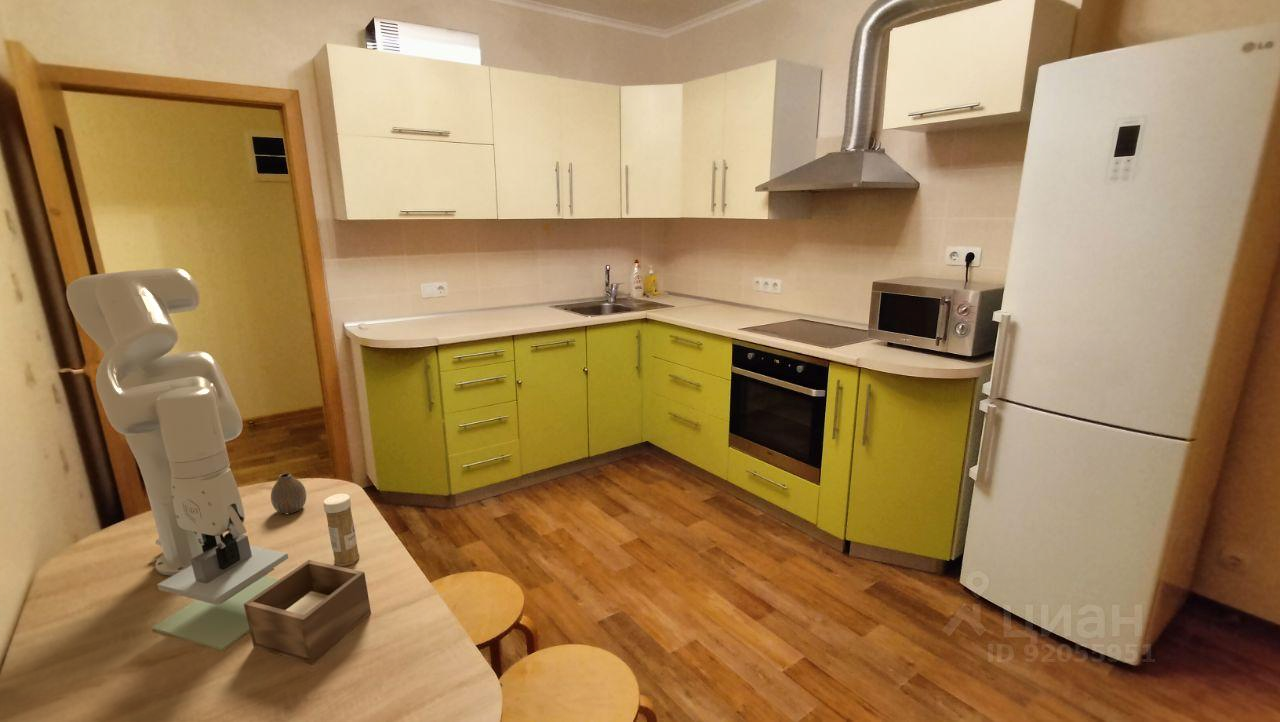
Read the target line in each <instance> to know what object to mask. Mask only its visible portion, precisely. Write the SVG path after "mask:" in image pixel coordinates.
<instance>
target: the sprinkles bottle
mask: <svg viewBox="0 0 1280 722" xmlns="http://www.w3.org/2000/svg"><path fill="white" fill-rule="evenodd" d="M322 503H323V509H324V512H325V515H326V519H327V520H326V521H327V527H328V533H329V539H330V540H329V541H330V545H331V550H332V552H333V558H334V559H333V560H334V561H333V562H334V564H335V566H339V567H347V566H350V565H353V564H355V563H356V562H357V561H358V560H359V559H360V556H361V555H360V553H359V549H358V548H359V547H358V542H357V536H356V530H355V524H354V523H355V522H354V520H353V519H354V518H353V514H352V510H351V509H352V507H351V506H352V502H351V496H350V495H349V494H347V493H337V494H333V495H330V496H327V498H325V499H324V500H323V502H322Z"/></svg>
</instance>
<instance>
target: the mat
mask: <svg viewBox="0 0 1280 722" xmlns="http://www.w3.org/2000/svg"><path fill="white" fill-rule="evenodd" d="M278 580H280V579H278V578H274V577H270V576H267V575H265V576H263V577H262V578H260V579H259V580H257V581H256V582H254V583H253V584H251V585H250V586H248V587H246V588H245V589H243V590H242V591H240V592H239V593H237V594H236V595H234V596H233V597H231V598H230V599H228V600H226V601H225V602H223V603H222V604H217V605H214V604H211V603H207V602H203V601H200V600H196V599H195V600H194V601H193V602H191V603H189V604H188V605H186V606H185V607H183V608H181V609H180V610H178V611H177V612H175V613H173V614H172V615H170V616H169V617H167V618H165V619H163V620H162V621H160V622H159V623H157V624H156V625H154V626H152V627H151V628H152V630H153V631H157V632H160V633H163V634H166V635H170V636H173V637H176V638H180V639H182V640H186V641H188V642H189V641H190V642H194V643H196V644H200V645H203V646H205V647H208V648H212V649H216V650H219V651H225V650H226V649H228V648H229V647H230V646H232V645H233V644H234V643H236V642H237V641H238V640H240V639H241V638H242V637H244V636H245V635H247V634H248V633H250V629H249V625H248V621H247V616H246V612H245V608H244V603H246V602H247V601H249V600H250V599H252V598H253V597H255V596H256V595H258V594H259V593H261V592H262V591H263V590H265V589H266V588H268V587H269V586H271V585H272V584H274V583H275V582H277V581H278Z"/></svg>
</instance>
